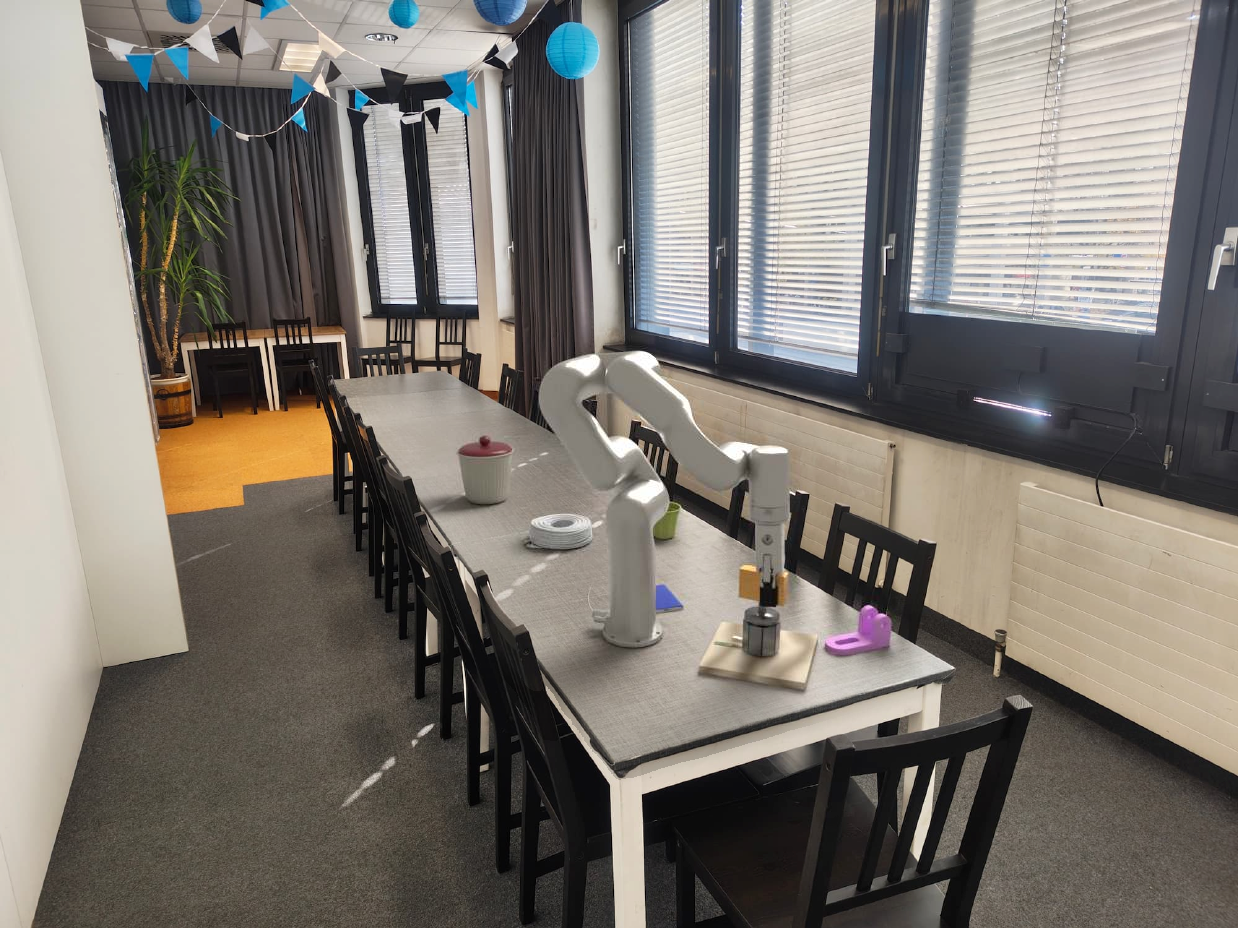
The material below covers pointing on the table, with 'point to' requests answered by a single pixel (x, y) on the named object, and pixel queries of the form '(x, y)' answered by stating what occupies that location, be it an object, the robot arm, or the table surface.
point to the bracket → (863, 634)
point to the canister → (486, 470)
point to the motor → (760, 614)
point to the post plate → (760, 658)
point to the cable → (560, 531)
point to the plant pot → (667, 522)
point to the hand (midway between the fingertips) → (769, 601)
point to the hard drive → (666, 600)
